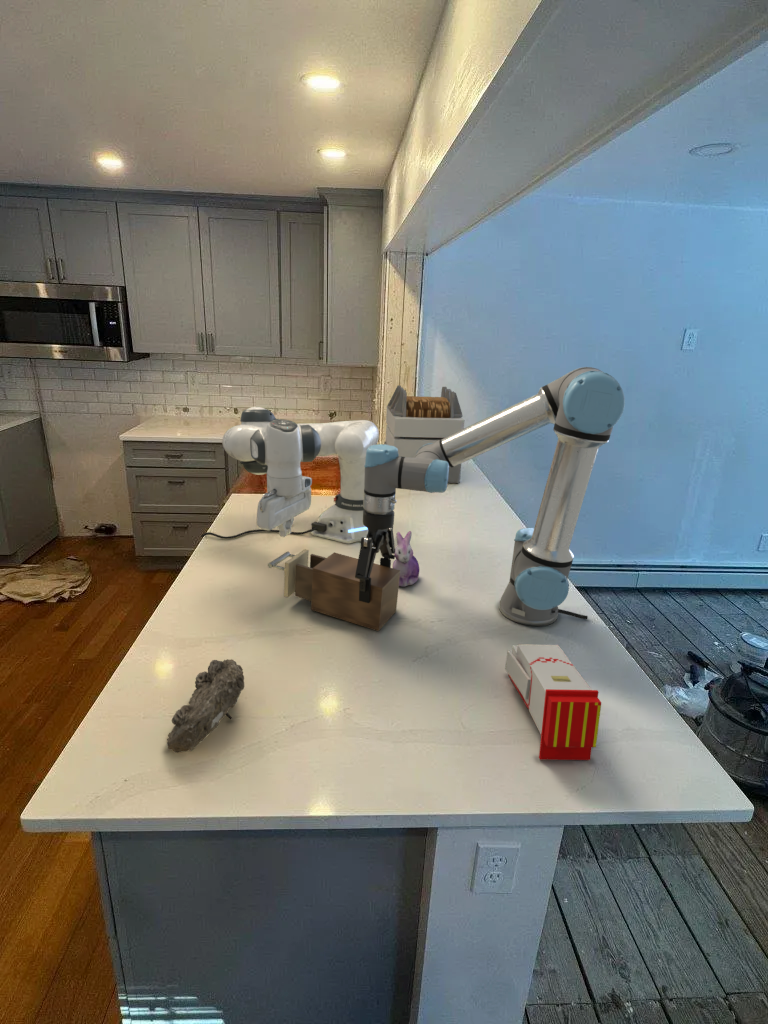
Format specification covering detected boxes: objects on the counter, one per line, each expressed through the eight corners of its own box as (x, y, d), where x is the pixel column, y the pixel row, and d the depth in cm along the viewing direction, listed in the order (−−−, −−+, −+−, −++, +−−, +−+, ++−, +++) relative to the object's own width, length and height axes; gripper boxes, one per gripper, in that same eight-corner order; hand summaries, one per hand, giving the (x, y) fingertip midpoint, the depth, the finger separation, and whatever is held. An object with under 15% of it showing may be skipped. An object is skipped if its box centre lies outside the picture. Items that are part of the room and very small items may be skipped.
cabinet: (311, 609, 146) (312, 568, 142) (332, 591, 156) (334, 552, 151) (378, 631, 139) (382, 588, 135) (396, 611, 149) (400, 570, 145)
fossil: (192, 660, 117) (244, 628, 112) (224, 691, 120) (276, 661, 115) (142, 746, 98) (202, 712, 93) (182, 779, 101) (242, 748, 96)
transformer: (382, 463, 289) (386, 382, 275) (445, 464, 293) (451, 384, 279) (390, 482, 257) (394, 392, 243) (460, 483, 261) (468, 394, 247)
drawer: (266, 590, 151) (266, 557, 148) (286, 576, 160) (287, 544, 156) (343, 615, 143) (345, 580, 139) (361, 598, 152) (363, 565, 148)
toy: (554, 627, 126) (611, 698, 97) (548, 682, 129) (602, 767, 99) (500, 626, 125) (540, 697, 96) (495, 681, 128) (534, 767, 99)
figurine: (399, 590, 159) (401, 541, 154) (382, 575, 168) (384, 528, 163) (427, 584, 164) (431, 536, 158) (410, 570, 172) (413, 524, 167)
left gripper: (271, 497, 134) (272, 551, 139) (315, 477, 152) (315, 525, 157) (249, 493, 137) (251, 546, 141) (295, 473, 154) (295, 521, 159)
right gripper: (372, 528, 124) (367, 616, 131) (411, 499, 144) (406, 576, 152) (341, 521, 127) (339, 608, 134) (384, 493, 147) (380, 570, 155)
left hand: (285, 535), depth 149 cm, fingers closed
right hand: (374, 591), depth 143 cm, fingers closed on cabinet, 11 cm apart
